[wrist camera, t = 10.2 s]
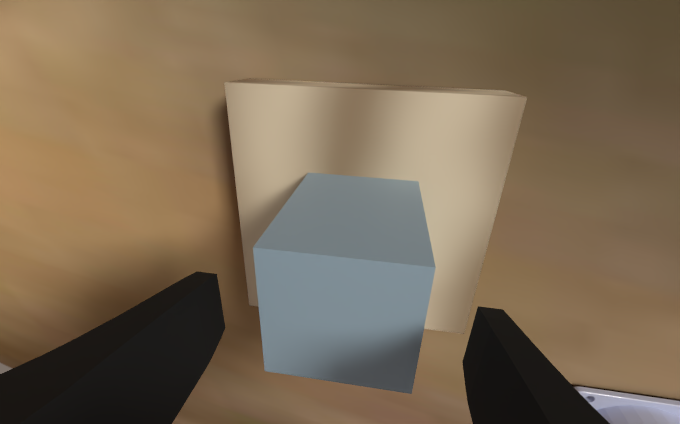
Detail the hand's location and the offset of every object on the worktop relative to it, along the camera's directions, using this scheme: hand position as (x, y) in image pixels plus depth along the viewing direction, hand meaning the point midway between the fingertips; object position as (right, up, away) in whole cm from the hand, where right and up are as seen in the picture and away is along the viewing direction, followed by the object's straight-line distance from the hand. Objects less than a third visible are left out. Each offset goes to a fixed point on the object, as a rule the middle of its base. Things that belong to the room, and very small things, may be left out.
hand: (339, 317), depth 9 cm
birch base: (+1, +4, +7) cm, 8 cm away
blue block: (+1, +2, +5) cm, 6 cm away
